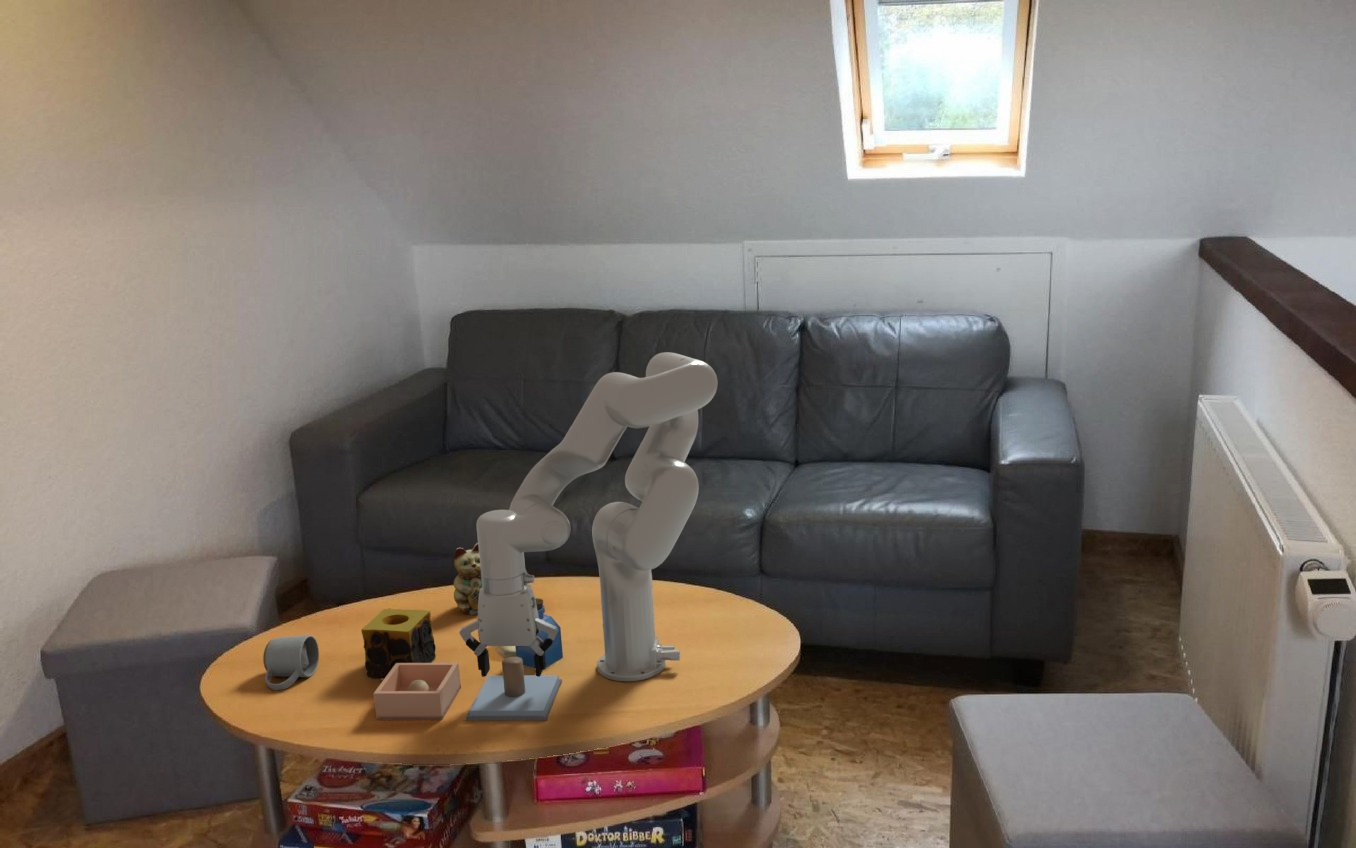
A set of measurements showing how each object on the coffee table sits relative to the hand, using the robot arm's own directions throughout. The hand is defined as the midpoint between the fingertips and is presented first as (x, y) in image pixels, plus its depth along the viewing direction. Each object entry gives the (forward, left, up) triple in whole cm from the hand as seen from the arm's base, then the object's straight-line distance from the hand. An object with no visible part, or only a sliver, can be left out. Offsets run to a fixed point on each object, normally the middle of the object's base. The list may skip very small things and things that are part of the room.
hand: (512, 673), depth 197 cm
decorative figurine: (+18, -41, -6) cm, 45 cm away
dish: (+17, +1, -5) cm, 18 cm away
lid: (0, 0, -5) cm, 5 cm away
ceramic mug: (+45, -9, -6) cm, 46 cm away
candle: (+25, -13, -6) cm, 29 cm away
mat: (0, 0, -5) cm, 5 cm away
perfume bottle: (-1, -16, -6) cm, 17 cm away
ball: (+17, +1, -3) cm, 17 cm away
